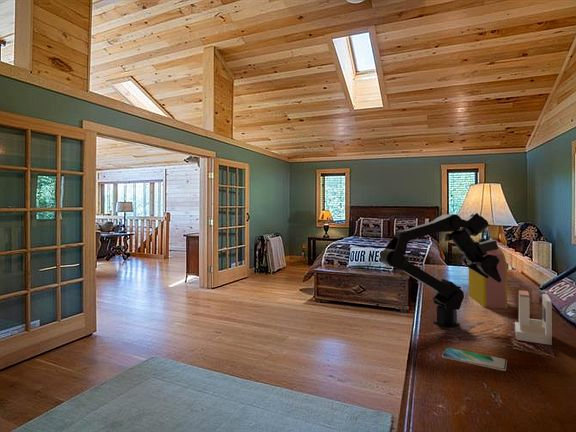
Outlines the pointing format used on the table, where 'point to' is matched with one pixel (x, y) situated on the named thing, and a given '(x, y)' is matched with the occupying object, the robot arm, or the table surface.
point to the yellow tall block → (490, 285)
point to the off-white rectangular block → (524, 308)
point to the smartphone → (475, 359)
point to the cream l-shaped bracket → (538, 326)
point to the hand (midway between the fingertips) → (493, 279)
